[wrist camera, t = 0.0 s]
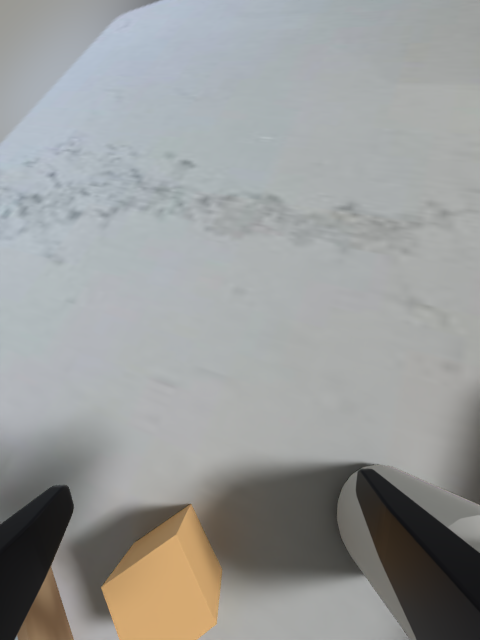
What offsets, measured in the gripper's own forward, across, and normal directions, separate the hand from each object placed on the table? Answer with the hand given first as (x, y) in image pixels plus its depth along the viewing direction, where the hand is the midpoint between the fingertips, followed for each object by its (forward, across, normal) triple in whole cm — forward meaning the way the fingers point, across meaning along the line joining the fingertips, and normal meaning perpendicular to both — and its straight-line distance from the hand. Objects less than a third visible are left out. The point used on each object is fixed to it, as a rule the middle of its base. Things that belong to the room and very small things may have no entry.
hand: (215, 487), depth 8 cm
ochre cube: (+8, +4, +15) cm, 18 cm away
